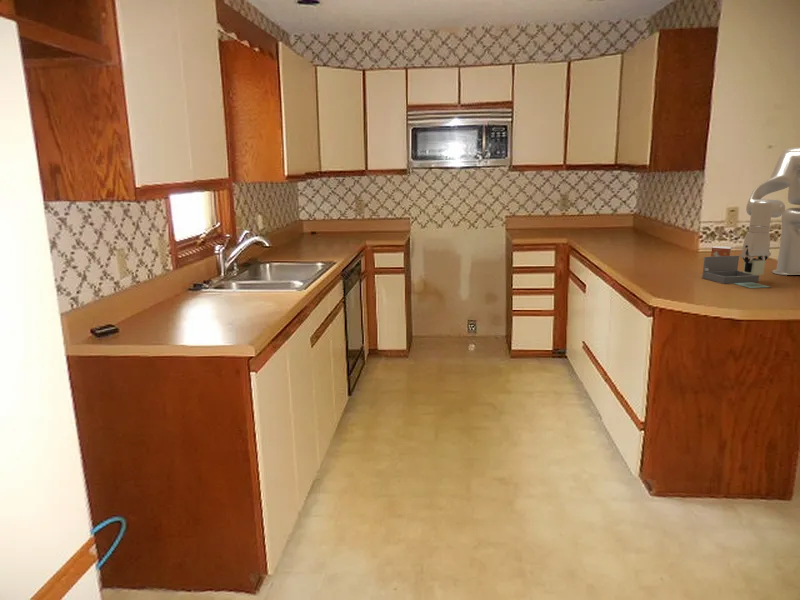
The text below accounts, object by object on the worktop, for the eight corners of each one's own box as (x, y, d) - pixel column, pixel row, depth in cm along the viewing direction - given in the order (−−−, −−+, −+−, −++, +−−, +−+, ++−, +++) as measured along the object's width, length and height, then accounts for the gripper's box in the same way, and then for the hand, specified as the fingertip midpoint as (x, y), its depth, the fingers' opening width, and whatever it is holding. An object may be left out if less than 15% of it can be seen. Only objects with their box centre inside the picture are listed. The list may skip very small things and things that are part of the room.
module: (752, 272, 264) (754, 257, 262) (763, 274, 258) (765, 259, 257) (742, 272, 263) (744, 257, 261) (753, 274, 257) (755, 260, 256)
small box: (708, 274, 288) (711, 247, 285) (709, 272, 294) (712, 245, 291) (727, 275, 284) (730, 248, 282) (727, 273, 290) (731, 246, 287)
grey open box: (734, 276, 283) (736, 255, 281) (758, 282, 269) (761, 260, 267) (700, 277, 280) (703, 256, 277) (723, 283, 266) (726, 261, 263)
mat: (752, 282, 267) (752, 282, 267) (770, 287, 258) (770, 286, 258) (733, 283, 265) (733, 283, 265) (750, 288, 256) (750, 287, 256)
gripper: (768, 228, 261) (763, 269, 266) (735, 229, 258) (730, 270, 262) (782, 230, 254) (776, 272, 258) (748, 231, 251) (743, 273, 255)
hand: (753, 271), depth 260 cm, fingers closed on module, 5 cm apart
